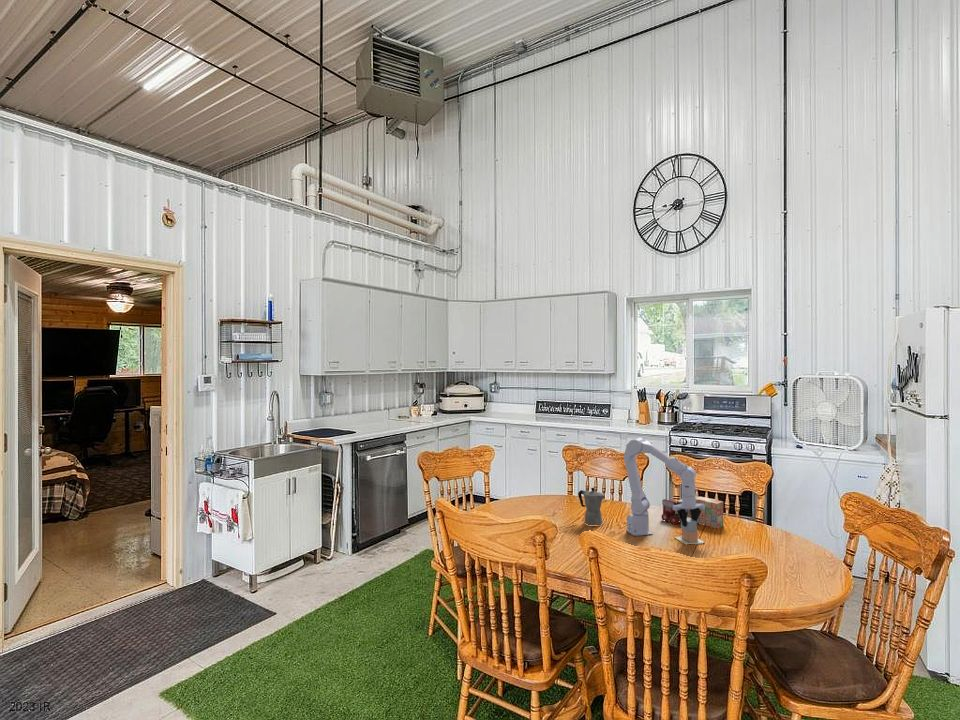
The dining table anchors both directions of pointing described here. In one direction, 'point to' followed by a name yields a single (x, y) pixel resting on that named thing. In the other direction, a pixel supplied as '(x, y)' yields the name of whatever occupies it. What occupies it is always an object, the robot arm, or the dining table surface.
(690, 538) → the terracotta brick
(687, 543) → the baseplate
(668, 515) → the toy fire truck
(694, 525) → the slate brick
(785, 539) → the dining table surface
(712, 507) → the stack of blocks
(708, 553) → the dining table surface
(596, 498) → the coffeepot
